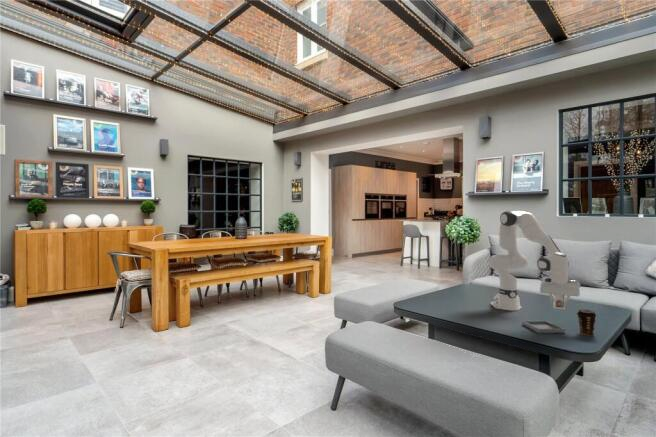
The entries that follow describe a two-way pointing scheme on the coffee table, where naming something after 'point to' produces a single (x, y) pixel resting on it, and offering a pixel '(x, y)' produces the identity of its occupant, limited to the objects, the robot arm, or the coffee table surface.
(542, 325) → the tray
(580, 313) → the coffee cup
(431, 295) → the coffee table surface
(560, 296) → the shaker
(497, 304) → the robot arm
